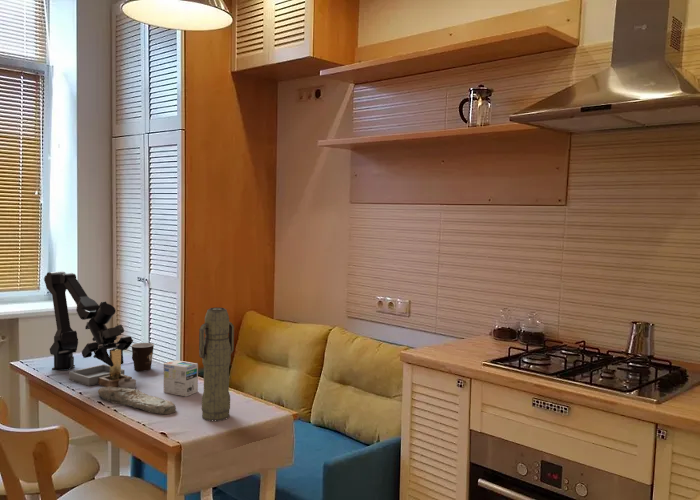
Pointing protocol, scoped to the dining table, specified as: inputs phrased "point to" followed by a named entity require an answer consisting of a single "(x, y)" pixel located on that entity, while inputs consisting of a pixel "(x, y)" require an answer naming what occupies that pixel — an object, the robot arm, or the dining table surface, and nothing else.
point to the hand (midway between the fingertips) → (117, 365)
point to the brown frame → (118, 382)
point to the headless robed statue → (216, 363)
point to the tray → (90, 374)
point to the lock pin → (115, 364)
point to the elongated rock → (136, 399)
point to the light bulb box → (180, 378)
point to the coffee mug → (142, 356)
